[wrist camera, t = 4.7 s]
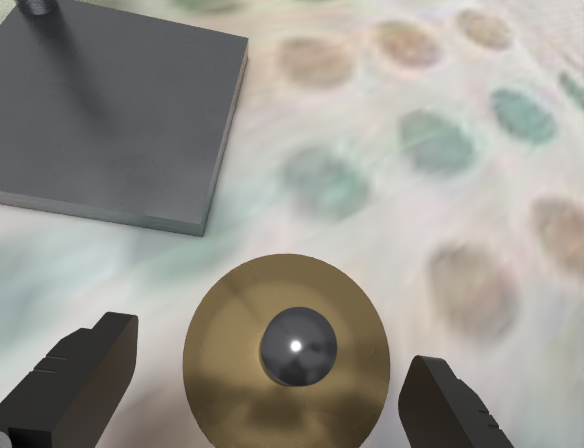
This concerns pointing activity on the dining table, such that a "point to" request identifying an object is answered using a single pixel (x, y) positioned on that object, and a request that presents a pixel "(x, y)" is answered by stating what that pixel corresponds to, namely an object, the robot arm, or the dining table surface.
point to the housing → (286, 357)
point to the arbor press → (114, 113)
